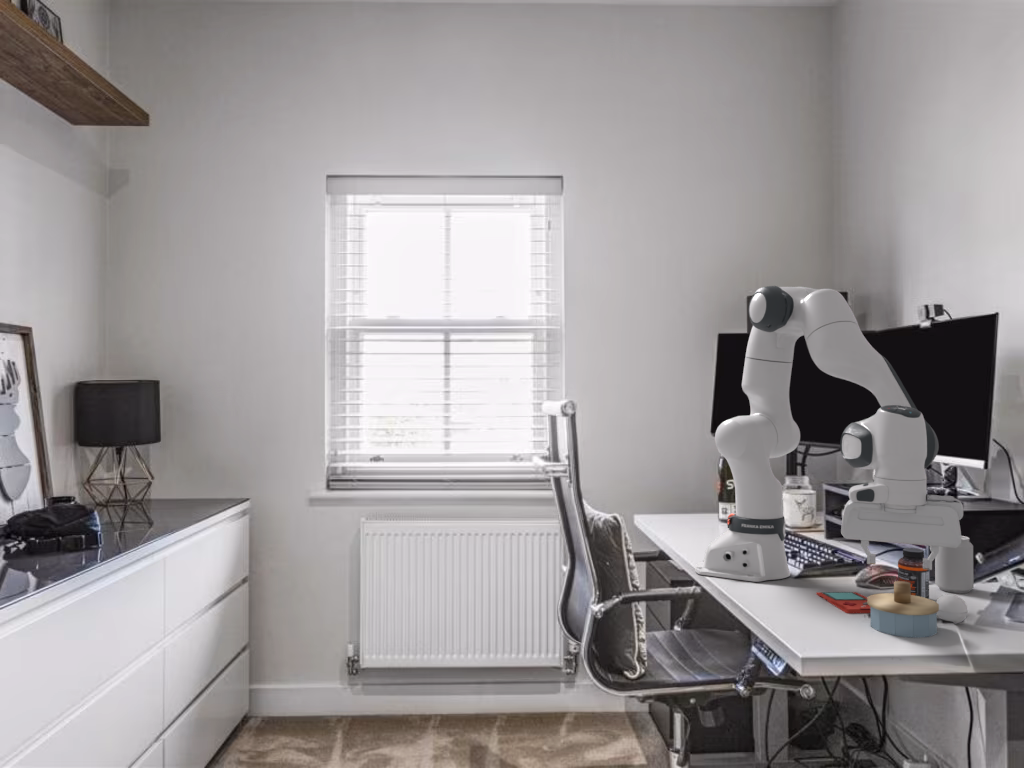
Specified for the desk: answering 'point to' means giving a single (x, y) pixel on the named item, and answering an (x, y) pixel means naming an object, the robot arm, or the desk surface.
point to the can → (955, 567)
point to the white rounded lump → (952, 608)
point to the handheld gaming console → (847, 601)
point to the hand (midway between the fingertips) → (898, 566)
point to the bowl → (904, 624)
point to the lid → (903, 601)
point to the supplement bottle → (914, 571)
